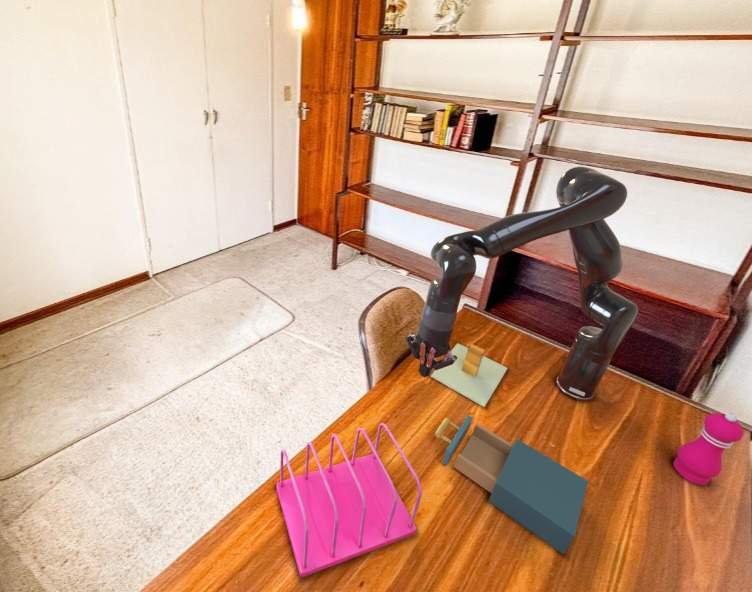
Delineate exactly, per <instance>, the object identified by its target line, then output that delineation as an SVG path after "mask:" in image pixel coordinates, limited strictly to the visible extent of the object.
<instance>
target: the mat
mask: <svg viewBox="0 0 752 592" xmlns="http://www.w3.org/2000/svg"><path fill="white" fill-rule="evenodd" d="M468 348H469V347H466V346H464V345H462V344H460V343H458V342H457V343H456V344H455V346H454V347H453V348H452V349H451V350H450V352H451V354H452V355H455V356H457V360H456V361H455V362H454V363H453V365H450V366H447V367H444V368H441V369H439V370H435V369H434V371H432V373H431V374H430V377H431V378H432V379H434V380H436V381H438V382H439V383H441V384H443V385H445V386H446V387H448V388H450V389H451V390H452V391H455V392H457V393H458V394H460V395H462V396H464V397H465V398H467V399H468V400H471V401H472V402H475V403H476V404H477V405H479V406H481V407H483V408H485V407H486V406H487V404H488V402H489V401H490V399H491V397H492V395H493V394H494V393H495V390H496V389H497V387H499V384H500V382H501V381H502V379H503V377H504V376H505V374H506V372H507V371H508V367H506V366H505V365H502V364H500V363H498V362H496V361H494V360H492V359H491V358H488V357H486V356H485V355H483V358H482V362H481V365H480V368H479V371H478V373H477V375H476V376H475V378H474V377H472V376H470V375H468V374H466V373H464V372H462V367H463V364H464V360H465V357H466V354H467V350H468Z"/></svg>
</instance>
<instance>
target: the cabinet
mask: <svg viewBox="0 0 752 592" xmlns="http://www.w3.org/2000/svg"><path fill="white" fill-rule="evenodd" d="M512 445H513V447H512V449H511V451H510V454H509V456H508V458H507V460H506V462H505V464H504V466H503V469H502V471H501V473H500V475H499V477H498V479H497V481H496V484H495V486H494V489H493V491H492V493H490V496H489V499H488V503H490V504H492V505H493V506H494V507H495V508H497V509H499V510H500V511H501V512H502V513H504V514H506V515H507V516H508V517H509V518H511V519H512V520H514V521H515V522H517V523H518V524H519V525H521V526H522V527H524V528H525V529H527V530H528V531H530V532H531V533H532V534H534V535H535V536H536V537H538V538H539V539H541V540H542V541H544V542H545V543H546V544H548V545H549V546H550V547H552V548H553V549H555V550H556V551H557V552H559V553H561V554H562V555H564V554H565V553H566V551H567V550H568V548H569V546H570V545H571V543H572V541H573V540H574V538H575V536H576V533H577V529H578V525H579V521H580V517H581V513H582V512H581V511H582V508H583V505H584V501H585V496H586V492H587V489H588V485H589V480H587V479H586V478H584V477H582V476H581V475H579V474H577V473H576V472H574V471H572V470H571V469H569V468H567V467H565V466H564V465H562V464H560V463H559V462H557V461H555V460H554V459H552V458H551V457H548V456H546V455H545V454H543V453H542V452H540V451H539V450H536V449H535V448H533V447H531V446H530V445H528V444H526V443H525V442H524V441H522V440H520V439H518V438H516V439H515V441H514V443H513V444H512Z"/></svg>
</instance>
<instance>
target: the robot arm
mask: <svg viewBox="0 0 752 592" xmlns="http://www.w3.org/2000/svg"><path fill="white" fill-rule="evenodd" d="M555 190H556V191H555V194H556V199H557V203H558V205H559V206H558V207H554V208H550V209H544V210H536V211H527V212H519V213H514V214H510V215H506V216H503V217H501V218H498V219H497V220H495V221H493V222H490V223H488V224H486V225H484V226H482V227H480V228H477V229H473V230H467V231H464V232H459V233H455V234H451V235H447V236H445V237H443V238H441V239H440V240H438V241H437V242H436V243H435V244H434V245H433V246H432V249H430V257H431V260H432V262H433V263H434V264H435V266H436V267H437V268H438V269H439V270H440V271H441V272H442V276H438V277H435V278H433V279H432V280H431V281H430V283H429V286H428V289H427V290H428V291H427V294H426V300H425V302H424V305H423V308H422V311H421V312H420V320H419V325H418V329H417V332H415V333H413V332H411V333H409V334H408V335H407V336H406V337H405V341H406V342H407V345H408V347H409V349H410V351H411V355H412V356H413V358H414V359H415V360H418V361H419V366H418V373H419V375H420V376H421V377H422V378H424V379H426V378H429V377H430V376H431V375H432V374H433V370H434V371H435V370H439V369H441V368H444V367H447V366H450V365H453V363H454V362H455V361H456V360H457V356H455V355H452V354H451V345H450V342H451V340H452V339H451V338H452V335H453V332H454V328H455V325H456V322H457V318H458V316H457V315H458V309H459V305H460V302H461V298H462V295H463V293H464V292H465V291H466V289H467V288H468V286H469V285H470V283H471V281H472V280H473V278H474V277H475V275H476V273H477V272H476V271H477V260H476V258H475V256H480V257H483V258H484V259H487V260H493V259H495V258H498V257H500V256H503V255H504V254H508V253H509V252H511V251H513V250H516V249H518V248H520V247H522V246H524V245H526V244H529V243H532V242H534V241H537V240H539V239H543V238H546V237H549V236H552V235H556V234H559V233H563V232H566V231H568V235H569V239H570V243H571V247H572V253H573V260H574V263H575V267H576V270H577V276H578V281H579V292H580V295H579V297H580V308H581V311H582V312H583V314H584V315H585V316H586V317H588V318H589V319H591V320H592V321H593V322H595V323H596V324H598V325H599V326H601V327H602V328H601V327H598V326H592V325H591V326H590V325H585V326H582V327H580V328H579V329H578V330H577V332H576V334H575V336H574V338H573V341H572V344H571V346H570V349H569V351H568V353H567V355H566V357H565V360H564V362H563V364H562V366H561V369H560V371H559V373H558V375H557V377H556V379H555V385H556V386H557V388H558V389H559V390H560V391H561V392H562V393H563V394H564V395H566V396H568V397H570V399H574V400H577V401H580V402H589V401H591V400H593V398H594V396H595V393H596V391H597V389H598V387H599V385H600V383H601V381H602V379H603V378H604V376H605V373H606V371H607V370H608V367H609V366H610V364H611V361H612V359H613V357H614V355H615V353H616V351H617V349H618V348H619V347H620V346H621V344H622V343H623V342H624V340H625V338H626V336H627V334H628V333H629V331H630V329H631V328H632V326H633V325H634V323H635V322H636V319H637V317H638V315H639V307H638V305H637V304H636V303H634V302H633V301H631V300H629V299H627V298H625V297H624V296H622V295H621V294H618V292H617V293H616V292H615V291H613V290H611V289H610V287H609V285H608V283H609V282H610V281H612V280H614V279H615V278H616V277H617V276H619V274H621V272H622V269H623V266H624V260H623V252H622V246H621V244H620V241H619V239H618V237H617V236H616V234H615V232H614V231H613V230H612V228H611V227H610V225H609V224H608V223H607V221H606V220H605V219H608V218H609V217H611V216H613V215H614V214H616V213H617V212H618V211H619V210H620V209H621V208H622V207H623V206H624V204H625V203H626V201H627V198H628V189H627V186H626V185H625V184H624V183H622V182H621V181H620V180H617V179H615V178H614V177H612V176H609V174H606V173H603V172H601V171H598V170H596V169H594V168H591V167H589V166H575V167H571V168H569V169H568V170H566V171H565V172H564V173H563V174H562V175H561V176H560V178H559V179H558V183H557V185H556V189H555ZM442 356H444V358H441V359H439V360H437V359H438V358H440V357H442Z"/></svg>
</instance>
